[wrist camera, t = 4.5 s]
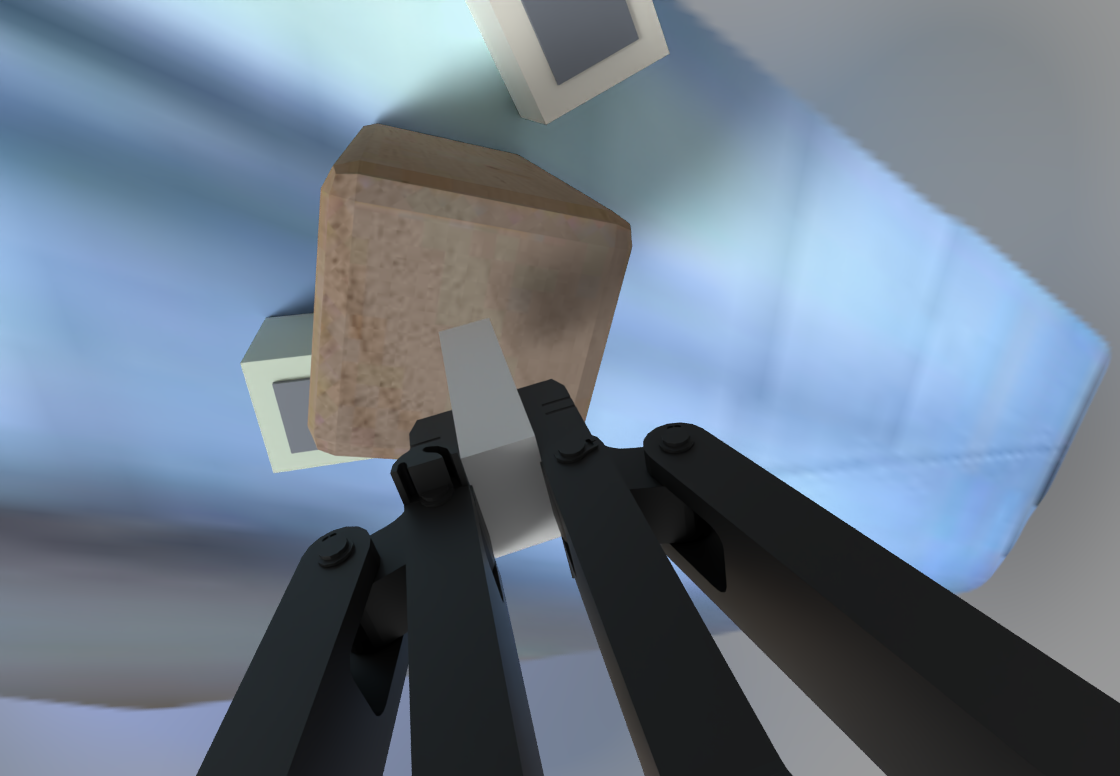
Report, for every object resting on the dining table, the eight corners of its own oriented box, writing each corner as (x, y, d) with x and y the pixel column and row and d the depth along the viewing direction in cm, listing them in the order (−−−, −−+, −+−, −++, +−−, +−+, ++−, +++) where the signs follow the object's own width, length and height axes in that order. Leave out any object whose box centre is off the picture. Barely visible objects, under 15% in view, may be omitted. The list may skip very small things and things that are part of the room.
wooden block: (530, 156, 36) (651, 222, 19) (501, 310, 40) (579, 480, 23) (359, 118, 33) (318, 156, 16) (346, 288, 37) (302, 466, 20)
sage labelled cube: (266, 317, 37) (239, 365, 31) (381, 305, 38) (378, 349, 32) (292, 414, 40) (272, 476, 34) (398, 400, 42) (398, 457, 35)
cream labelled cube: (459, -10, 32) (475, -33, 26) (573, -76, 32) (616, -116, 26) (520, 117, 35) (547, 125, 29) (623, 58, 35) (672, 53, 29)
